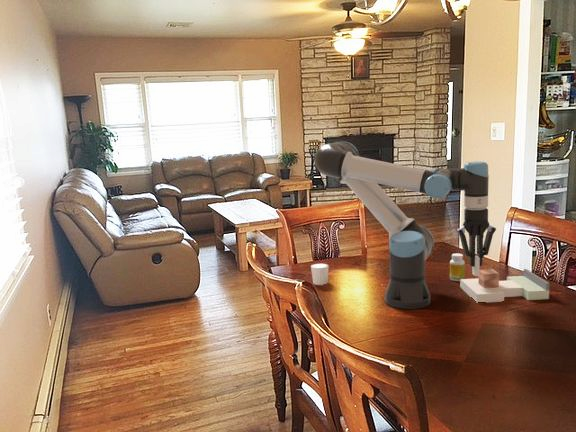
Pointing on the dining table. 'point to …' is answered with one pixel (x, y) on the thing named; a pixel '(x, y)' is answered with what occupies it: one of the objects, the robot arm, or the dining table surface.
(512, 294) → the board
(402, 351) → the dining table surface
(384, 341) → the dining table surface
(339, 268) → the dining table surface
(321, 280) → the white cup
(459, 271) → the supplement bottle
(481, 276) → the block
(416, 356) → the dining table surface
